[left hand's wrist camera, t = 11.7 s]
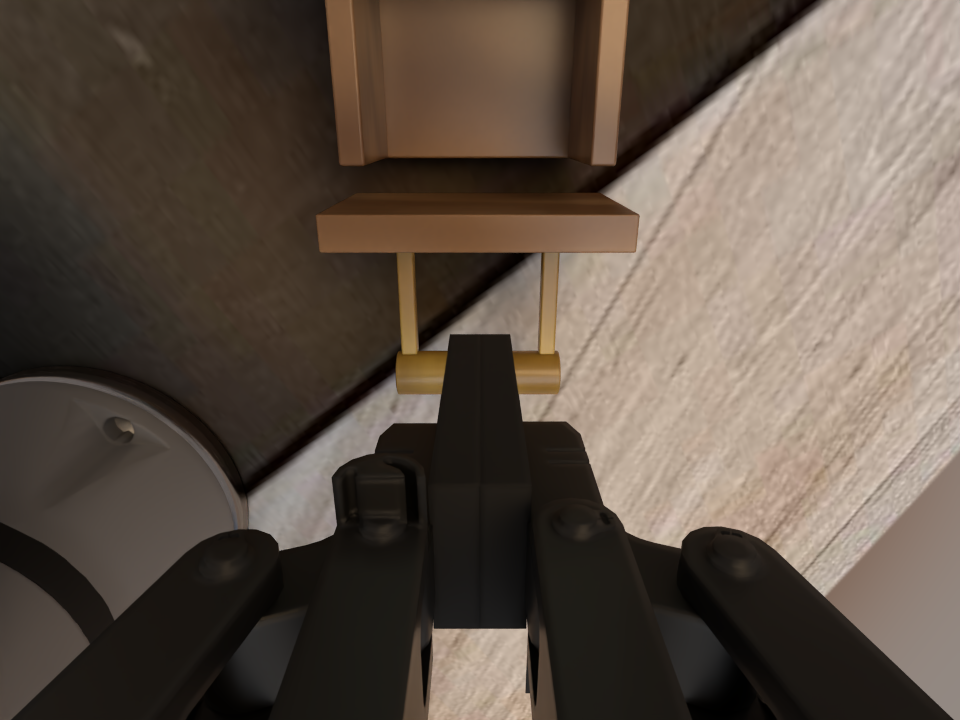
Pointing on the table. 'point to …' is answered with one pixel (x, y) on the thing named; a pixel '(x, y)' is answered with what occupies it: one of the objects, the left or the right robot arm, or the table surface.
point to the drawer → (477, 142)
